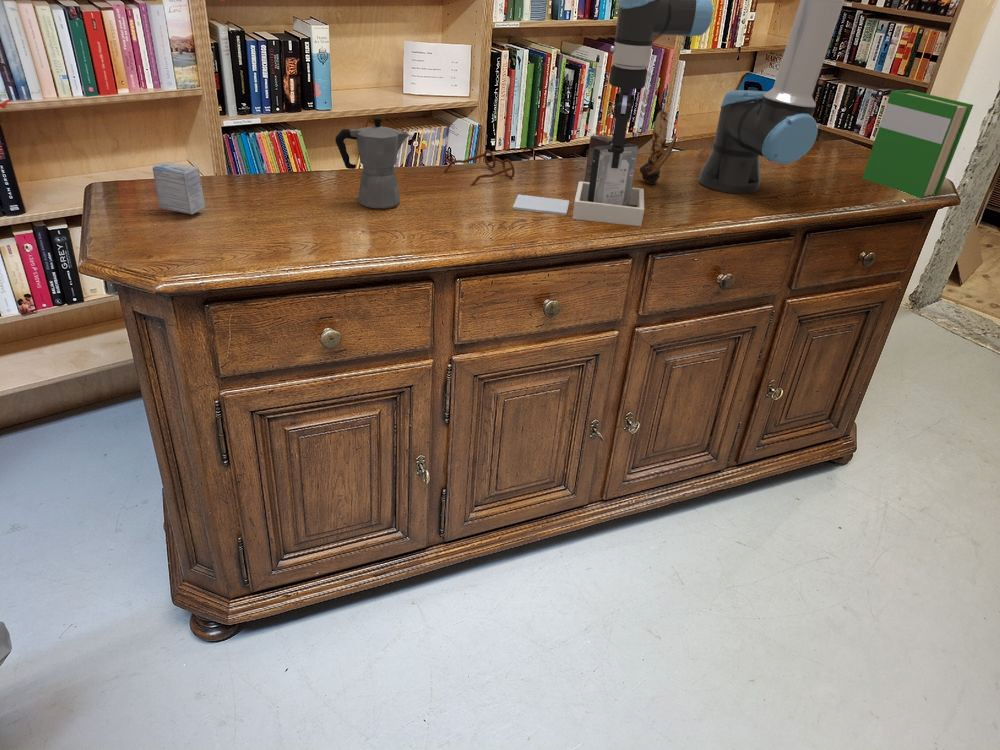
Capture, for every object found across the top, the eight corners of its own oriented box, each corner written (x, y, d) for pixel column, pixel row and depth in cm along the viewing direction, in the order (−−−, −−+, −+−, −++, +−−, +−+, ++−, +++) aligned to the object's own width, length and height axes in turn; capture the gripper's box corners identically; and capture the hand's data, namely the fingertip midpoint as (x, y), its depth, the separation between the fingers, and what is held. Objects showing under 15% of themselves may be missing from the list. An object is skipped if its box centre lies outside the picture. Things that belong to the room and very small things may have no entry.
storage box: (640, 205, 173) (643, 188, 171) (641, 227, 161) (644, 209, 159) (576, 197, 175) (578, 181, 173) (572, 219, 162) (574, 201, 160)
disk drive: (591, 216, 164) (600, 149, 157) (584, 212, 167) (593, 145, 159) (629, 211, 169) (640, 145, 161) (621, 207, 171) (632, 142, 163)
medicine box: (206, 209, 152) (199, 167, 148) (191, 215, 149) (184, 172, 144) (173, 202, 154) (166, 160, 150) (158, 208, 151) (151, 166, 146)
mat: (569, 202, 172) (569, 200, 171) (566, 215, 164) (566, 213, 164) (518, 196, 173) (518, 194, 172) (512, 209, 165) (512, 206, 165)
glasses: (515, 181, 184) (516, 161, 181) (470, 187, 177) (471, 167, 175) (486, 166, 193) (487, 147, 190) (442, 172, 186) (443, 152, 184)
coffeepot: (404, 193, 169) (404, 112, 159) (412, 207, 161) (413, 123, 152) (336, 195, 165) (331, 111, 155) (341, 210, 157) (337, 123, 148)
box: (612, 189, 183) (620, 139, 176) (600, 191, 180) (607, 141, 174) (595, 182, 186) (602, 133, 180) (582, 184, 184) (589, 135, 178)
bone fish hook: (667, 192, 184) (682, 117, 174) (650, 192, 182) (663, 117, 173) (652, 180, 191) (664, 108, 182) (635, 180, 190) (647, 107, 180)
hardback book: (936, 200, 194) (973, 104, 181) (919, 203, 190) (955, 106, 178) (877, 180, 206) (908, 89, 194) (860, 182, 203) (891, 90, 190)
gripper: (612, 57, 160) (597, 164, 172) (609, 71, 144) (593, 188, 156) (647, 60, 159) (629, 168, 171) (648, 75, 143) (629, 192, 155)
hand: (612, 177), depth 164 cm, fingers closed on disk drive, 5 cm apart
